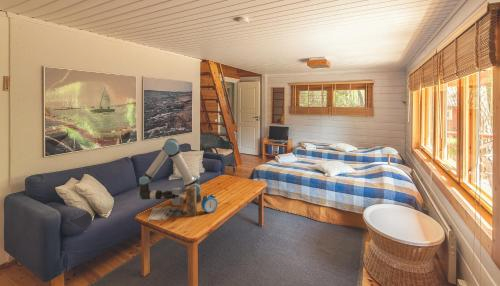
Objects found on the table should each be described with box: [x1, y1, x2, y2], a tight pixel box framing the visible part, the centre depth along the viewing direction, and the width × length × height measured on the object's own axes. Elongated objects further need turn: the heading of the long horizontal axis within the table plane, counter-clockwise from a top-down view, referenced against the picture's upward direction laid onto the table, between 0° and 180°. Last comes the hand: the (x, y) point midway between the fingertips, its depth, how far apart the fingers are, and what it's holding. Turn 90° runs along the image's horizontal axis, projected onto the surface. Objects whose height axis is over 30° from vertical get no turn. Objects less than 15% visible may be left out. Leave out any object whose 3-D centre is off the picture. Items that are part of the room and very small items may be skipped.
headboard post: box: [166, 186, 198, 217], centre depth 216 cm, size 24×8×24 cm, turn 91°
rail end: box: [171, 186, 184, 206], centre depth 225 cm, size 8×5×14 cm, turn 91°
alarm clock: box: [200, 193, 219, 214], centre depth 223 cm, size 13×6×15 cm, turn 124°
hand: (183, 194), depth 225 cm, fingers closed on rail end, 5 cm apart
